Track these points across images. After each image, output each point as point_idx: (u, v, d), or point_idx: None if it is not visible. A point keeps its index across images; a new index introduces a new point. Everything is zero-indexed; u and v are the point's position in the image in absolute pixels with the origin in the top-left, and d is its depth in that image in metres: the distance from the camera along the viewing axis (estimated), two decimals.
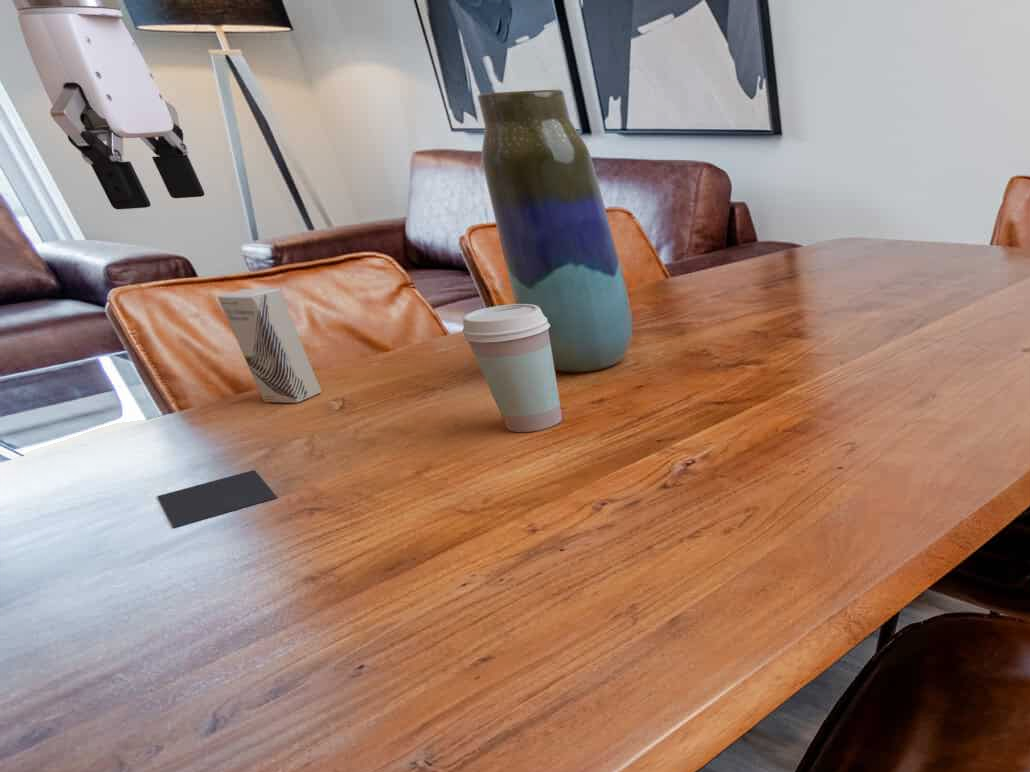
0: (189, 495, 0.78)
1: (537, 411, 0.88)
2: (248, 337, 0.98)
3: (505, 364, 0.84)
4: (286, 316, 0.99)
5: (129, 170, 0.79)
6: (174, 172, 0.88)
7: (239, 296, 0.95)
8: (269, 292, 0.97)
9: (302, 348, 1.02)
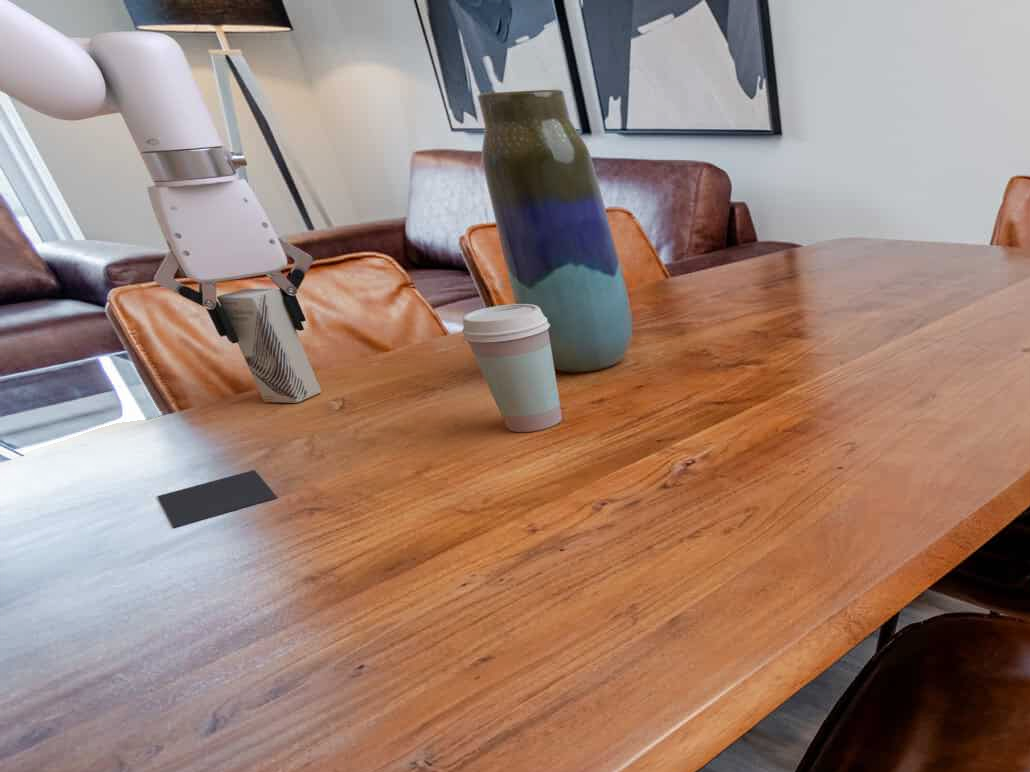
0: (189, 495, 0.78)
1: (537, 411, 0.88)
2: (248, 337, 0.98)
3: (505, 364, 0.84)
4: (286, 316, 0.99)
5: (219, 315, 0.95)
6: None
7: (238, 296, 0.95)
8: (269, 292, 0.97)
9: (302, 348, 1.02)
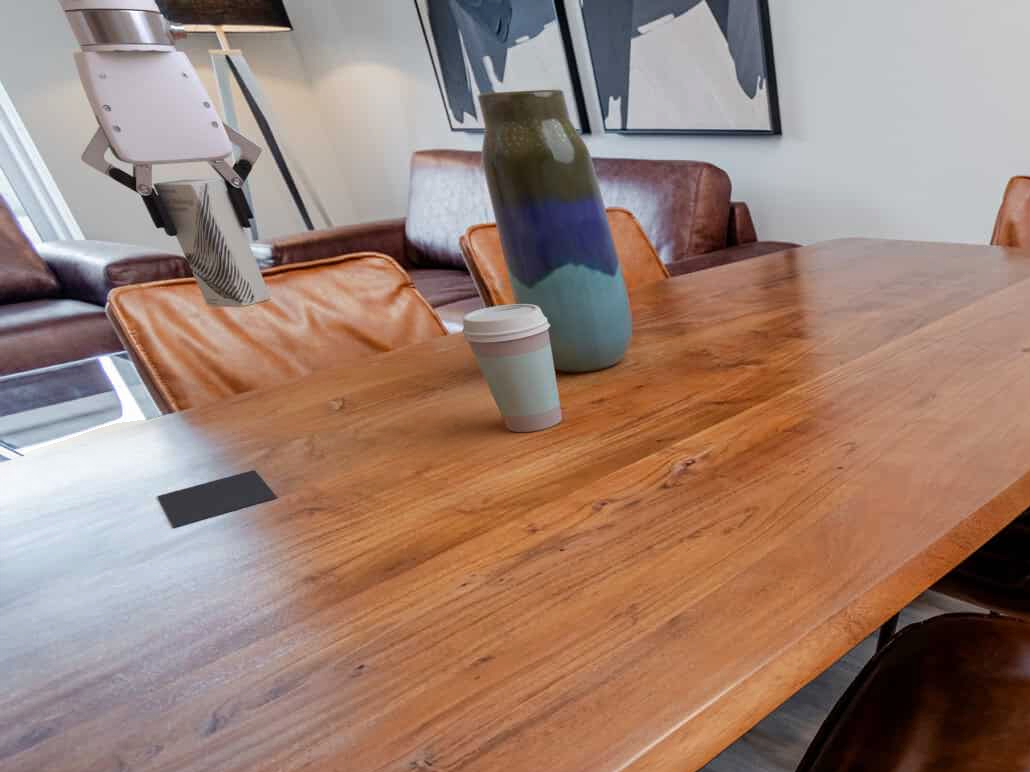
0: (189, 495, 0.78)
1: (537, 411, 0.88)
2: (188, 230, 0.90)
3: (505, 364, 0.84)
4: (231, 210, 0.91)
5: (155, 202, 0.87)
6: None
7: (177, 183, 0.87)
8: (211, 182, 0.89)
9: (249, 248, 0.94)
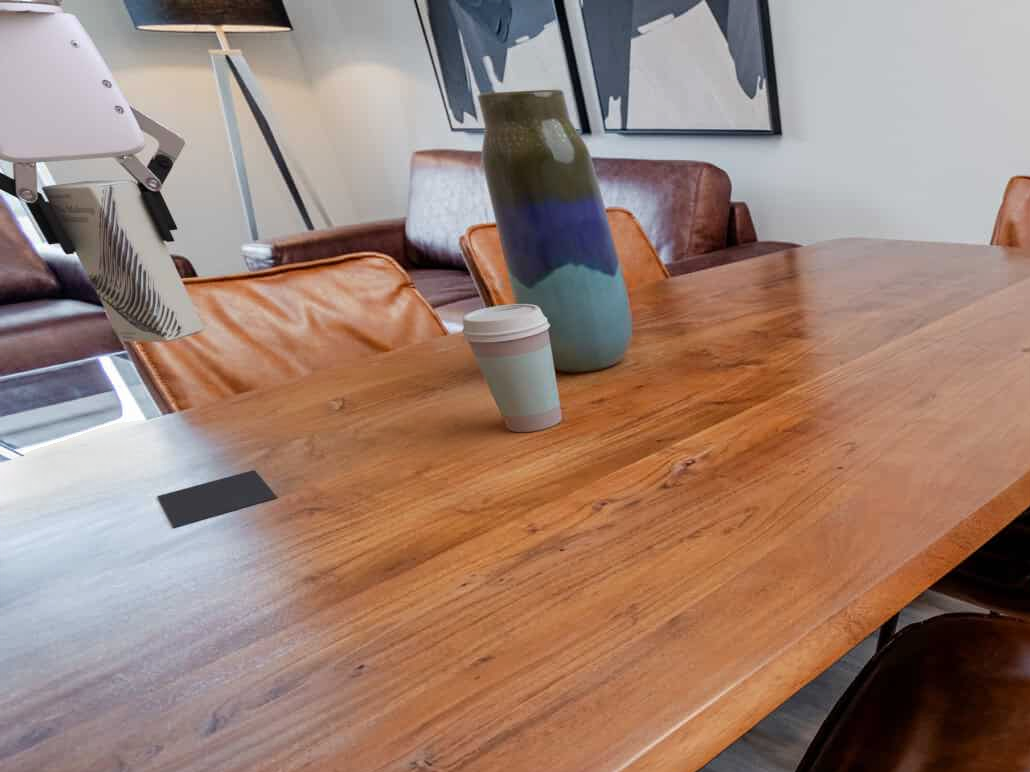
0: (189, 495, 0.78)
1: (537, 411, 0.88)
2: (91, 247, 0.70)
3: (505, 364, 0.84)
4: (146, 220, 0.72)
5: (43, 212, 0.67)
6: None
7: (72, 186, 0.68)
8: (118, 183, 0.69)
9: (173, 267, 0.74)
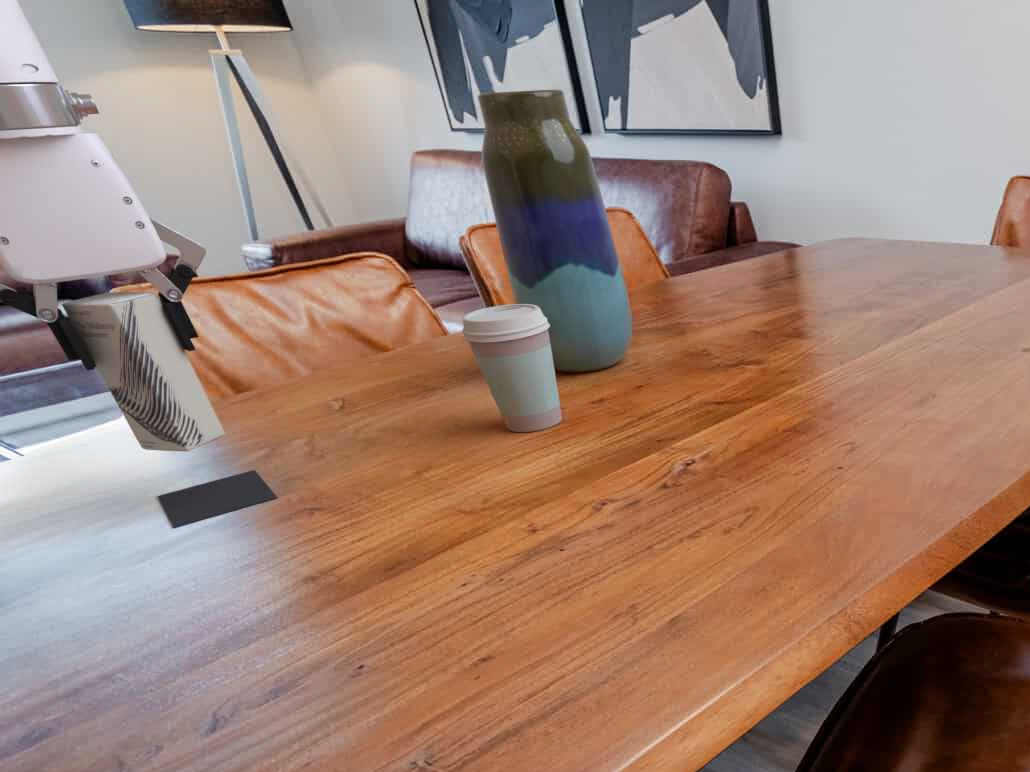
0: (189, 495, 0.78)
1: (537, 411, 0.88)
2: (111, 361, 0.69)
3: (505, 364, 0.84)
4: (167, 330, 0.70)
5: (63, 330, 0.66)
6: None
7: (92, 303, 0.66)
8: (139, 297, 0.68)
9: (194, 375, 0.73)
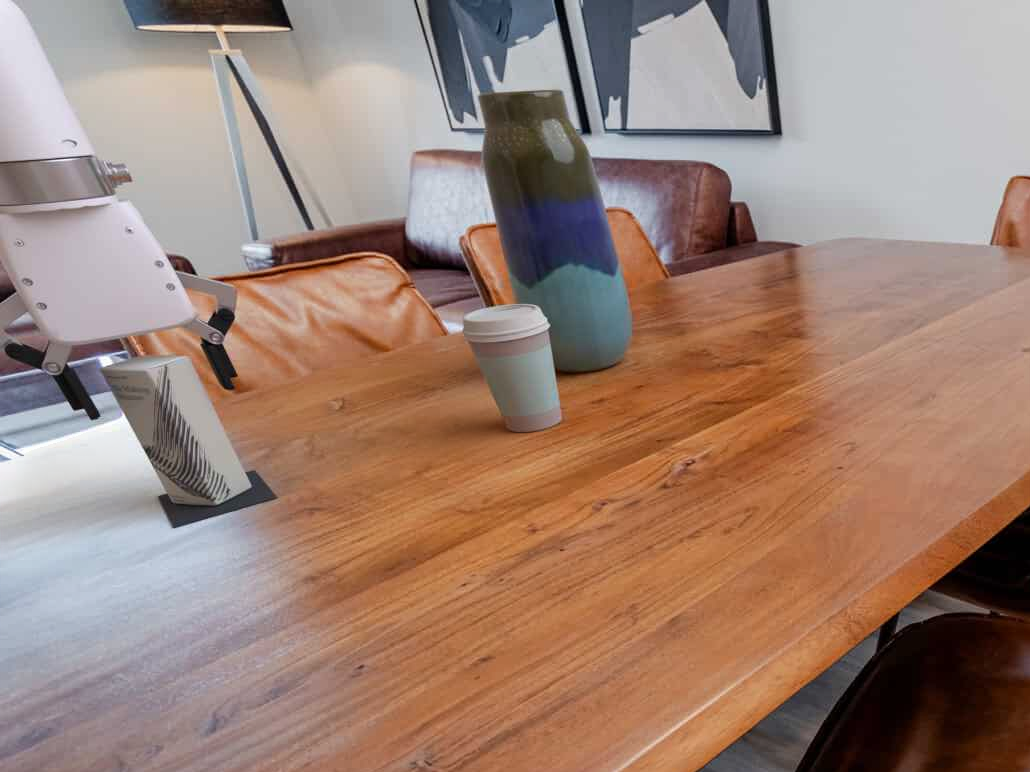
0: None
1: (537, 411, 0.88)
2: (145, 421, 0.72)
3: (505, 364, 0.84)
4: (199, 391, 0.73)
5: (68, 382, 0.67)
6: (210, 362, 0.74)
7: (129, 368, 0.69)
8: (173, 362, 0.71)
9: (223, 432, 0.76)
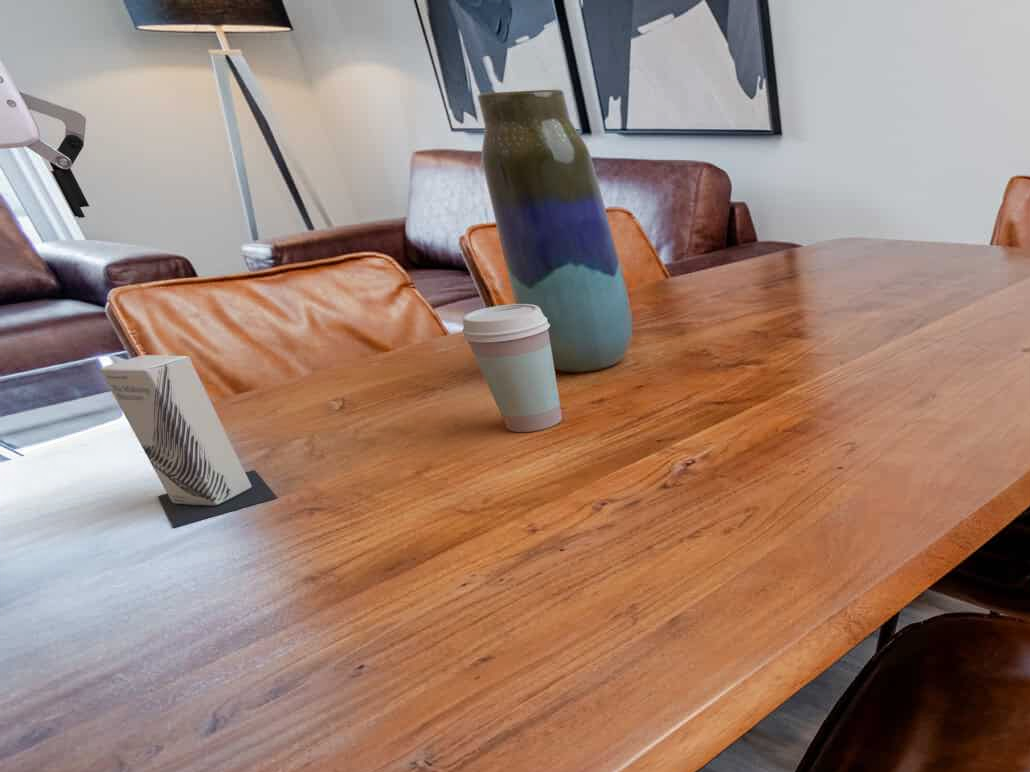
0: None
1: (537, 411, 0.88)
2: (145, 421, 0.72)
3: (505, 364, 0.84)
4: (199, 391, 0.73)
5: None
6: None
7: (129, 368, 0.69)
8: (173, 362, 0.71)
9: (223, 432, 0.76)
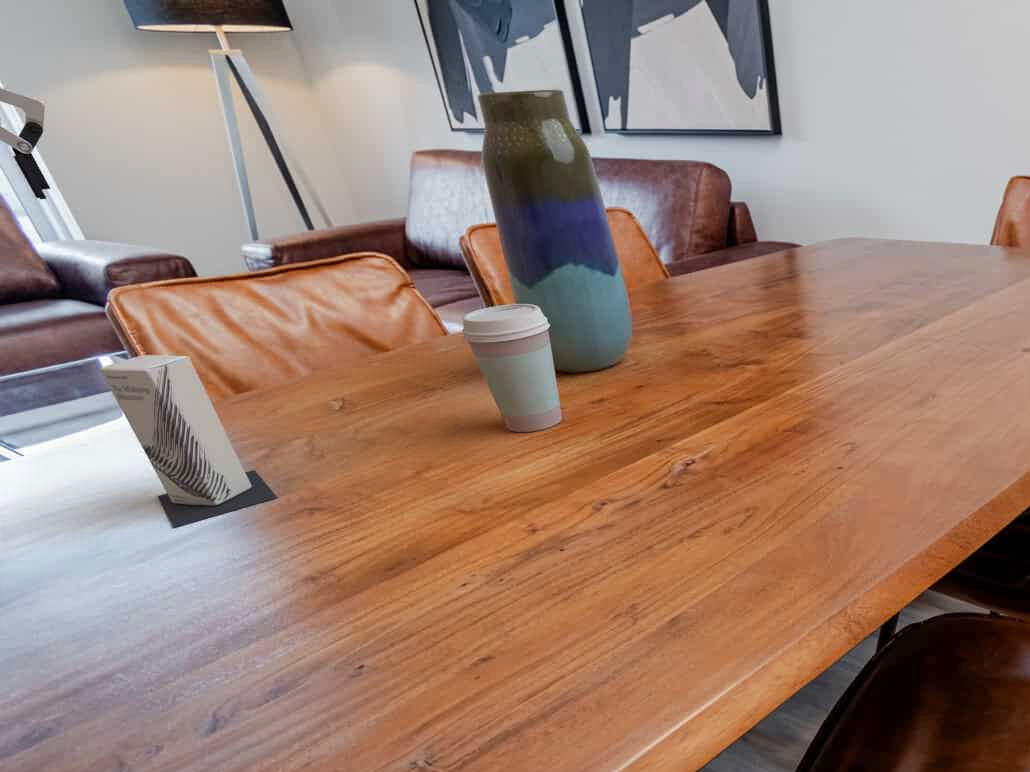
0: None
1: (537, 411, 0.88)
2: (145, 421, 0.72)
3: (505, 364, 0.84)
4: (199, 391, 0.73)
5: None
6: (22, 172, 0.82)
7: (129, 368, 0.69)
8: (173, 362, 0.71)
9: (223, 432, 0.76)
